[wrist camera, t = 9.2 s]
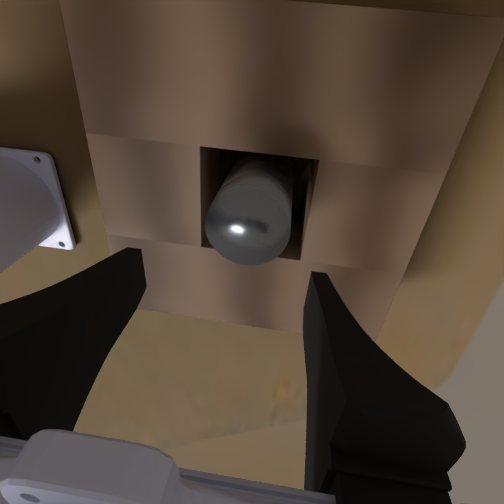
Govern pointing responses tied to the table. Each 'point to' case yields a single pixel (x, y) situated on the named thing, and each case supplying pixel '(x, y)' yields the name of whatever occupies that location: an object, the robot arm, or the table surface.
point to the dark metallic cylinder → (253, 209)
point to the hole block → (273, 139)
